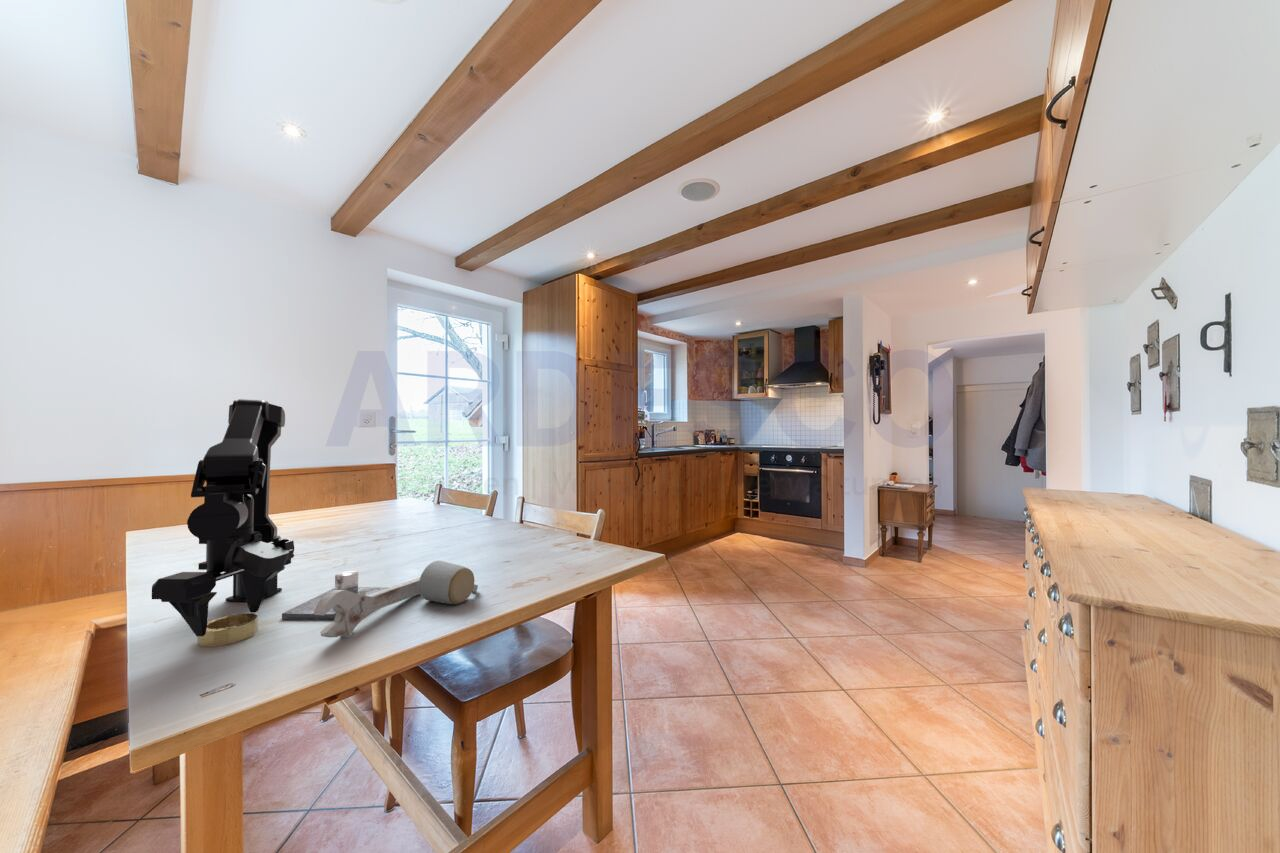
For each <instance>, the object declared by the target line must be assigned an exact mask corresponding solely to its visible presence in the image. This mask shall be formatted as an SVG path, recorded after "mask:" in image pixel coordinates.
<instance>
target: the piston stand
mask: <svg viewBox="0 0 1280 853" xmlns="http://www.w3.org/2000/svg"><path fill="white" fill-rule="evenodd" d="M390 587H391V586H390ZM390 587H386V586H384V587H383V586H380V587H379V586H378V587H377V586H376V587H375V586H374V587H372V586H371V587H370V586H360V587H359V571H357V570H345V571H341V572H337V573H336V574H335V575H334V588H331V589H329V590H327V591H326V592H323V593H322V594H318V596H316V597H313V598H311V599H309V600H307V601H304V602H303V603H301V604H299V605H297V606H295V607H292V608H291V609H288V610H286V611H284V612H282V613H281V620H316V619H329V620H330V621H332V620H333V621H334V619H335V616H336V612H335V608H332V609H331V610H330V611H328V612H327V613H326V614H325V615H314V610H315V608H316V606H317V604H318V602H319V601H320V600H321V598H323V597H324V596H325V595H326V594H327V593H328V592H331V591H333V590H347V591H349V592H352V593H355V594H358V595H363V596H366V595H369V594H372V593H375V592H378V591H381V590H384V589H387V588H390Z"/></svg>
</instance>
